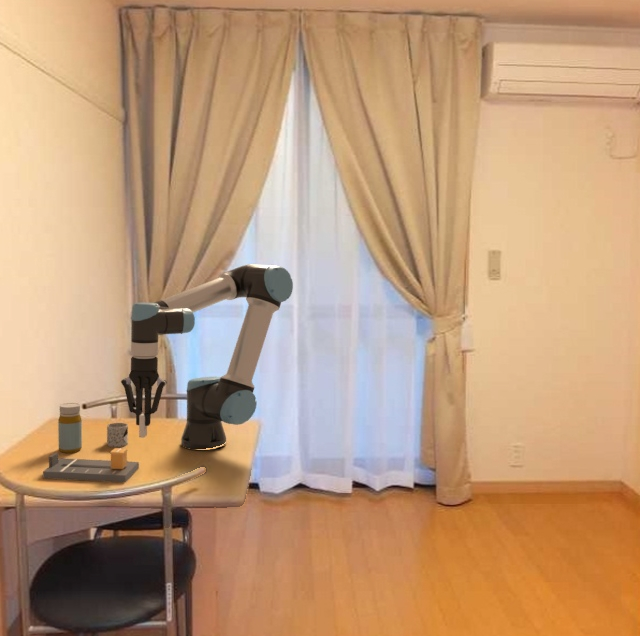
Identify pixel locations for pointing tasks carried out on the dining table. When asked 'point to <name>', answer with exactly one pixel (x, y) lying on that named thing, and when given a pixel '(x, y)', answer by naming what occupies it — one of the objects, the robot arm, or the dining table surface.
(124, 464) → the fader
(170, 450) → the dining table surface
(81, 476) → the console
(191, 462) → the dining table surface
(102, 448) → the dining table surface
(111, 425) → the mug
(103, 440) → the dining table surface
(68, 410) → the bottle
